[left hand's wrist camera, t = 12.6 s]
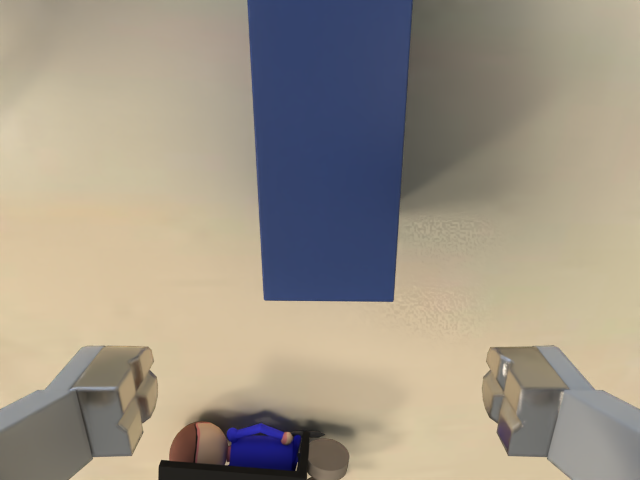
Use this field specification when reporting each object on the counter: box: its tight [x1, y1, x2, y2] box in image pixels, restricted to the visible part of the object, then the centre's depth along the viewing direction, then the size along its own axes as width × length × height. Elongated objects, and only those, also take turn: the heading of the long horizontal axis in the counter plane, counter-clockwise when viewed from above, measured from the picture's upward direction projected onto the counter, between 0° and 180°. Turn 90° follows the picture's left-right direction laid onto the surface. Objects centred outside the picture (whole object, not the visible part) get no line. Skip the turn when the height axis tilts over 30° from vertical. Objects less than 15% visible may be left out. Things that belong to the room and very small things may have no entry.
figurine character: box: [159, 421, 349, 480], centre depth 37 cm, size 7×8×15 cm
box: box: [247, 0, 413, 302], centre depth 23 cm, size 22×6×13 cm, turn 0°
